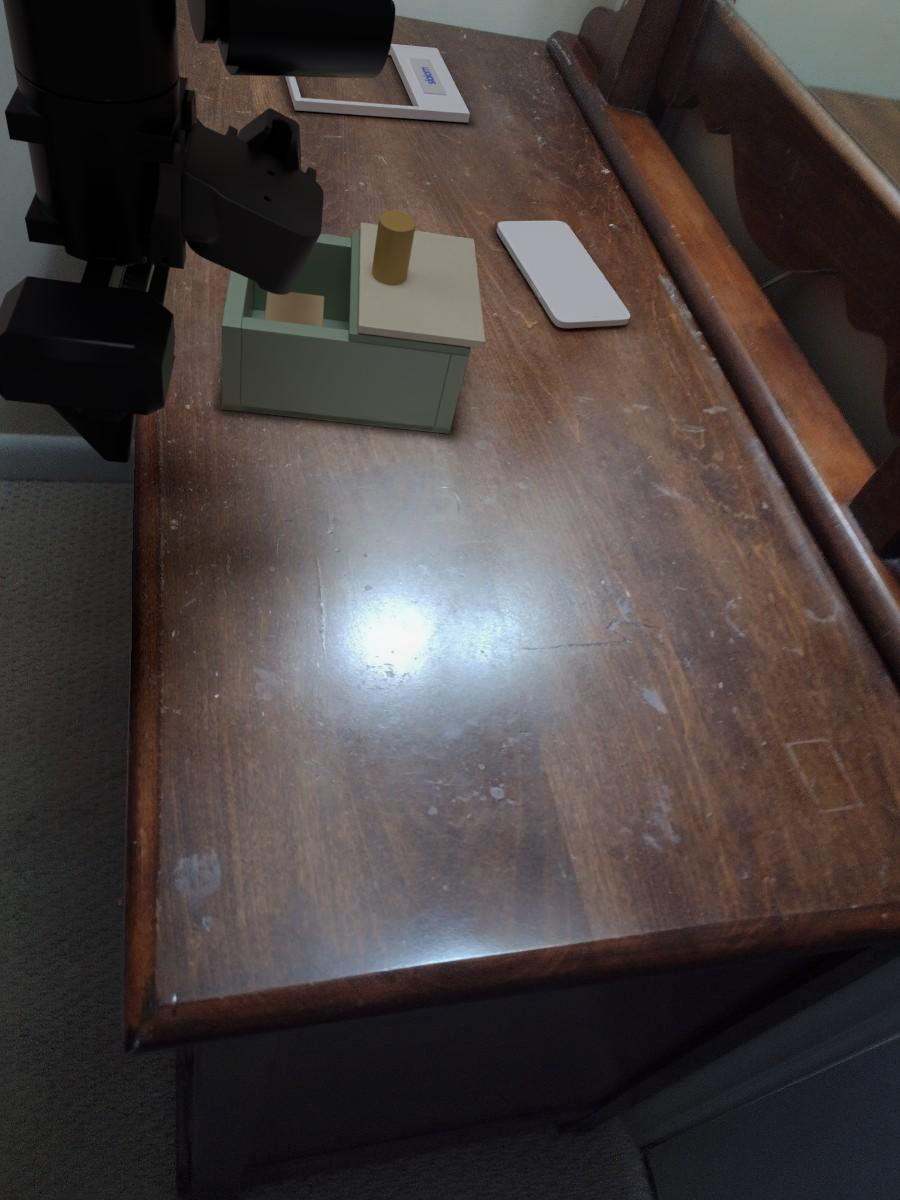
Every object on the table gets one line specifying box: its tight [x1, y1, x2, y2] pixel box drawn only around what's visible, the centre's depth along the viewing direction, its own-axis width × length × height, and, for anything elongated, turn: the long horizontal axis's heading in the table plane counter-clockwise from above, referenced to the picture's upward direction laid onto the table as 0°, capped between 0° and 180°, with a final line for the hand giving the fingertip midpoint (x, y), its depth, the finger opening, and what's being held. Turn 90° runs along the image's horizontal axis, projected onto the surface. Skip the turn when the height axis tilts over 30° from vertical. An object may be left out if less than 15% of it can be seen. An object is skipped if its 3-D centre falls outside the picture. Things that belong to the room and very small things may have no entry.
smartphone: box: [496, 220, 631, 329], centre depth 81 cm, size 7×1×15 cm
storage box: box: [221, 229, 472, 435], centre depth 66 cm, size 16×12×8 cm
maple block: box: [264, 291, 324, 327], centre depth 66 cm, size 4×4×4 cm
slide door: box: [358, 210, 486, 350], centre depth 62 cm, size 8×12×5 cm
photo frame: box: [284, 43, 471, 123], centre depth 97 cm, size 15×1×18 cm
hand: (133, 394), depth 46 cm, fingers open, 9 cm apart
